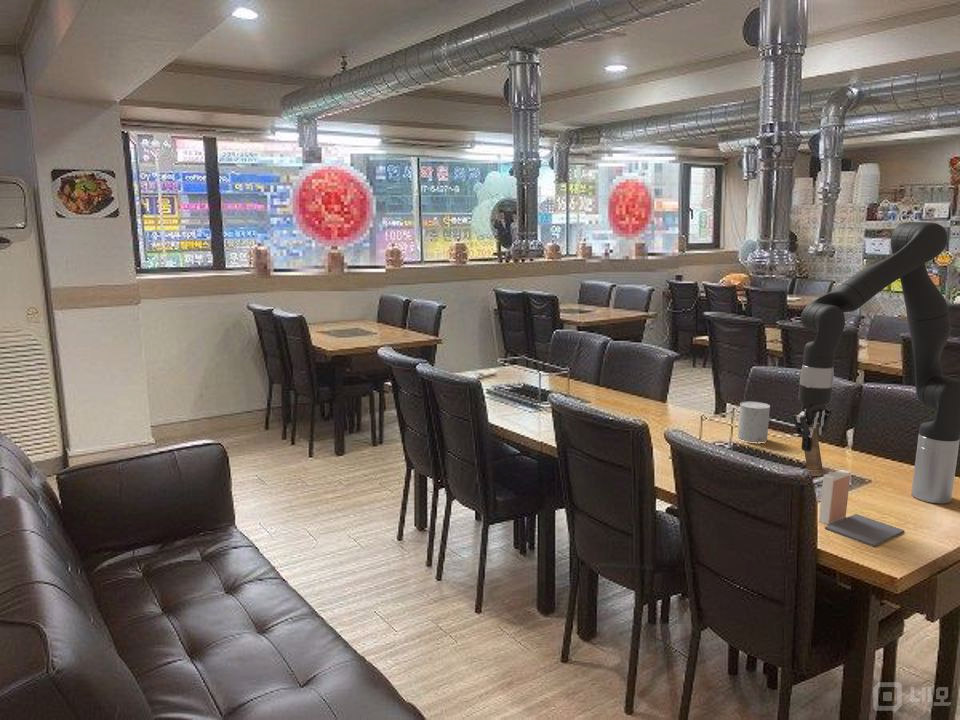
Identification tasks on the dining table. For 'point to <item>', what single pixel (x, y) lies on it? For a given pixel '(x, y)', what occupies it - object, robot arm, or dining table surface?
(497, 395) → the dining table surface
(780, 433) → the dining table surface
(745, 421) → the grey stone cylinder
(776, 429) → the dining table surface
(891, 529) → the mat
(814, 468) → the brown tapered stand
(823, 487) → the white rectangular block
